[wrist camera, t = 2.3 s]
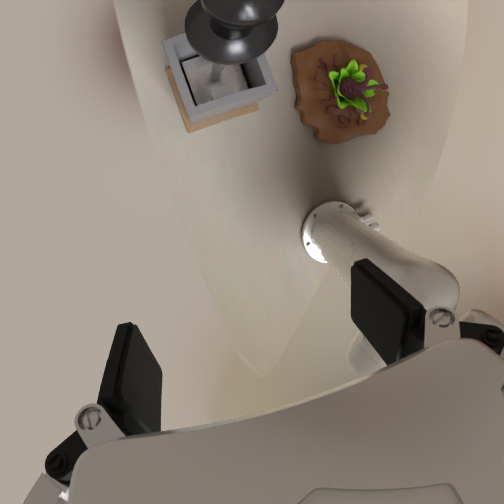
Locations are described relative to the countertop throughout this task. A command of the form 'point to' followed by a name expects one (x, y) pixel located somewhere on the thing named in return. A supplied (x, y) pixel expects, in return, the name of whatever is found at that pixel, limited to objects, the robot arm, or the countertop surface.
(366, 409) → the robot arm
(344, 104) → the plant
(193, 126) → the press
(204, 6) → the plunger
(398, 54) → the countertop surface
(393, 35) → the countertop surface
